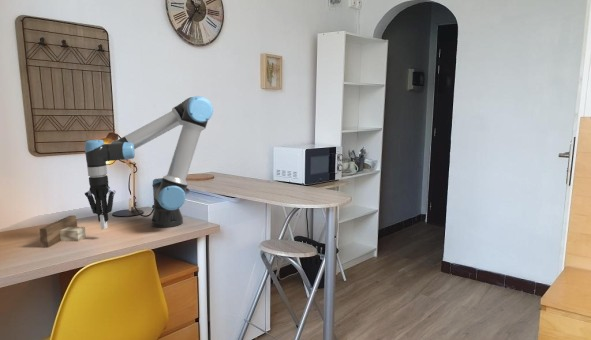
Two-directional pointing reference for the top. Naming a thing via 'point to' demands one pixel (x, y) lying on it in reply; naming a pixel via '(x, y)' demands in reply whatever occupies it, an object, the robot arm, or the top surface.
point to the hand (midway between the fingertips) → (104, 228)
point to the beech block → (72, 234)
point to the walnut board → (55, 231)
